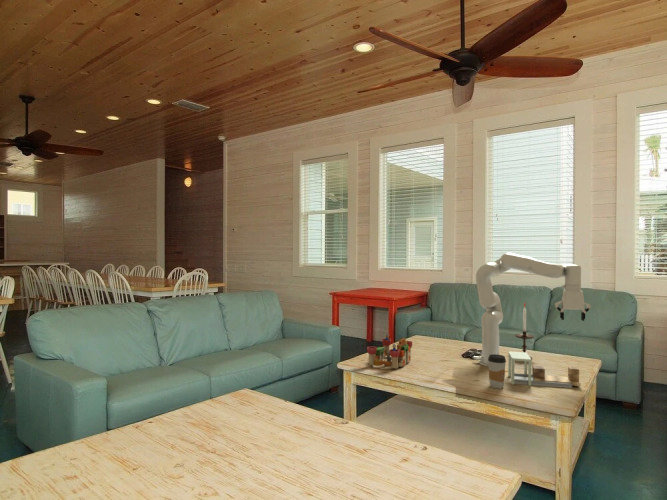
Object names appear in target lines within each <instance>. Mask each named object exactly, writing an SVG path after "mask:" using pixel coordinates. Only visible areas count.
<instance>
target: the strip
mask: <svg viewBox="0 0 667 500" xmlns="http://www.w3.org/2000/svg"><path fill="white" fill-rule="evenodd" d="M533 378H534V377H533ZM534 380H535V381H544V382H556V383H568V384H572V387H573V386H575V387H581V386H582V384H581V382H580V368H578V367H576V366H567V376H561V375H560V376H559V375H548V374H545V379H538V378H534Z"/></svg>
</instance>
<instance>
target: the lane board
mask: <svg viewBox="0 0 667 500" xmlns="http://www.w3.org/2000/svg"><path fill="white" fill-rule="evenodd" d="M514 385H526V386H528V373H527V374H524V373H519V372H518V373H517V372H514ZM531 386H535V387H537V386H538V387H540V386H541V387H550V388H551V387H552V388H562V387H564V389H573V385H572V384H568V383H556V382H544V381H535V380H534V378H533V376H532V373H531Z"/></svg>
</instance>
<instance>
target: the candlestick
mask: <svg viewBox="0 0 667 500" xmlns="http://www.w3.org/2000/svg"><path fill="white" fill-rule="evenodd" d="M521 332H522V333H515V334H514V337H515V338H517V339H522V344H523V345H521V348H522V350H521V352H526V353H527V348H528V346H527V344H526V341H527V340H533V339H535V335H534V334H529V333H527V332H528V330H527V309H526V302H524V303H523V309H522V330H521ZM529 357H530V358H531V361H533V357H532V356H530V355H529Z"/></svg>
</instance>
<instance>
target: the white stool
mask: <svg viewBox="0 0 667 500" xmlns="http://www.w3.org/2000/svg"><path fill="white" fill-rule="evenodd" d="M529 356H530V355H529V354H528V352H527V351H526V352H523V351H508V364H507V366H508V372H507V373H508V375H507V376H508V377H509V378H511V385H515V384H514V373H515V362H524V363H523V364H524V365H523V374H528V385H527V386H530V387H531V386H532V385H531V374H532V360H531V358H530V357H531V356H530V357H529Z"/></svg>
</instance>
